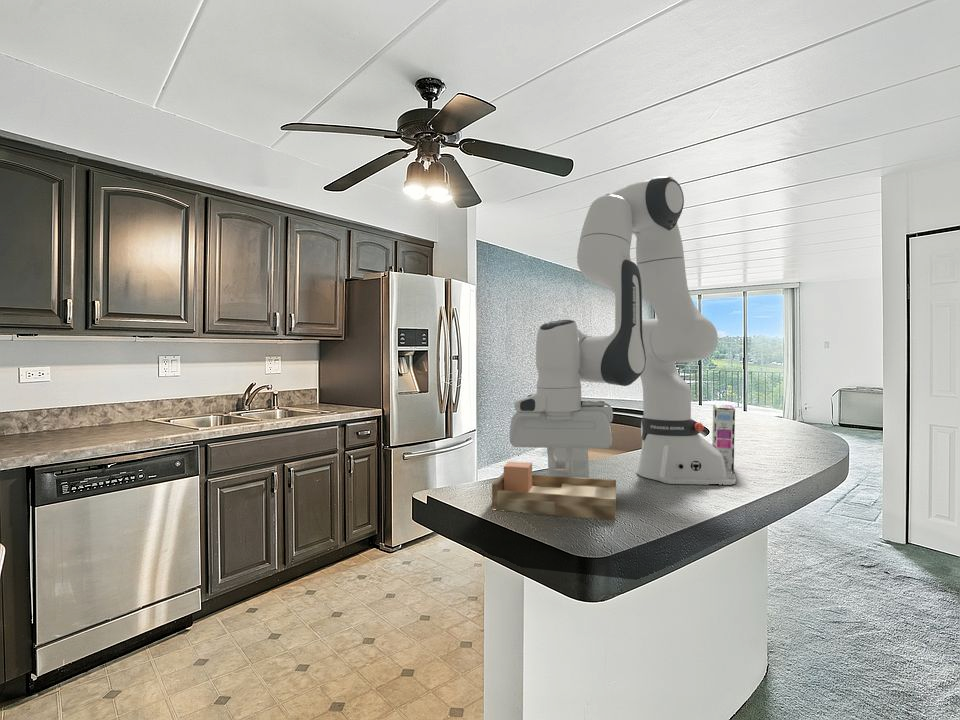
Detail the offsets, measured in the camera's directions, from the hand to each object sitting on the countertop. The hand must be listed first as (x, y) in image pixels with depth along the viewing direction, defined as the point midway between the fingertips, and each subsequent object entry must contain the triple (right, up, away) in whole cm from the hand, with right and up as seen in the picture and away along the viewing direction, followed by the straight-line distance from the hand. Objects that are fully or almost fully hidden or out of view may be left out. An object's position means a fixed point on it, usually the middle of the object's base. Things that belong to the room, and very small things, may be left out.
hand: (560, 469), depth 104 cm
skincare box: (+4, -7, +17) cm, 18 cm away
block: (-9, -4, +2) cm, 10 cm away
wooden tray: (0, -7, 0) cm, 7 cm away
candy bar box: (+48, -7, +32) cm, 58 cm away
